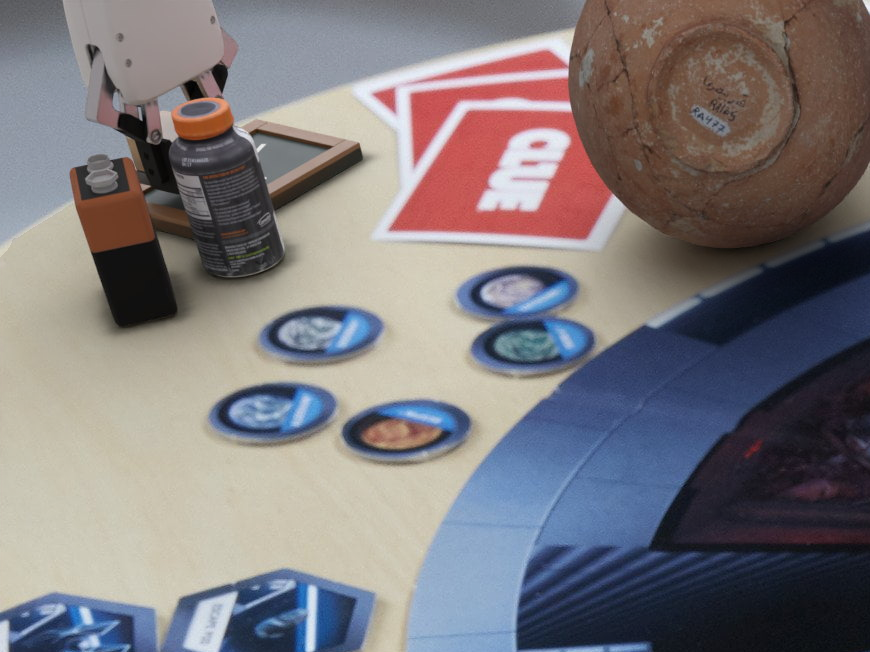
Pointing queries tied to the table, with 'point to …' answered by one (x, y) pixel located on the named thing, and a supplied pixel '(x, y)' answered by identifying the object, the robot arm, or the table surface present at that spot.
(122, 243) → the battery
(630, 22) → the jug
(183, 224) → the board
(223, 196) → the pill bottle
